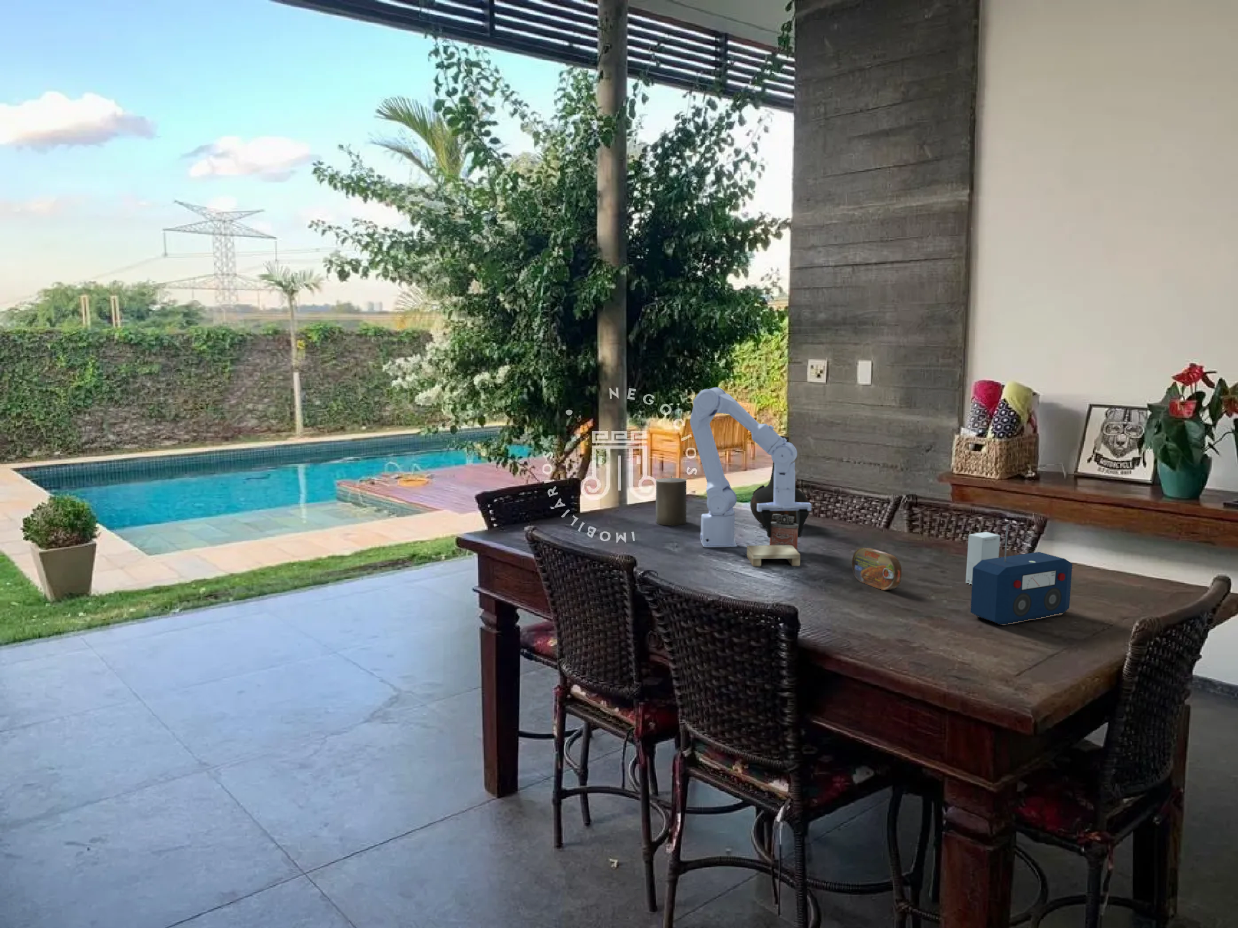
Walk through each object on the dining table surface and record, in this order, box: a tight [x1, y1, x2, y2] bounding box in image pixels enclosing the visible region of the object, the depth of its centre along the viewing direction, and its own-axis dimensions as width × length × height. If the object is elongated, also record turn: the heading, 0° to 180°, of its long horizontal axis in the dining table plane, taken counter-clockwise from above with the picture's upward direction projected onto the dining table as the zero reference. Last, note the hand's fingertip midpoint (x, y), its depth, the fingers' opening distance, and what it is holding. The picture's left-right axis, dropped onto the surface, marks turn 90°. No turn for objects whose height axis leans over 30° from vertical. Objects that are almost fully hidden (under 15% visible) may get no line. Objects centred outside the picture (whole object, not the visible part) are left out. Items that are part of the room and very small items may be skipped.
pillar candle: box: [655, 475, 687, 527], centre depth 276 cm, size 10×10×15 cm
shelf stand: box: [746, 544, 801, 567], centre depth 229 cm, size 12×10×3 cm
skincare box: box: [965, 531, 1001, 585], centre depth 206 cm, size 6×4×12 cm
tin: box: [851, 547, 903, 591], centre depth 206 cm, size 15×3×8 cm, turn 23°
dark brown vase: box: [749, 435, 809, 527], centre depth 270 cm, size 18×18×28 cm
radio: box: [970, 524, 1073, 625], centre depth 182 cm, size 21×9×20 cm, turn 114°
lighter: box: [769, 514, 799, 552], centre depth 240 cm, size 8×3×10 cm, turn 63°
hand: (783, 536), depth 240 cm, fingers closed on lighter, 7 cm apart
